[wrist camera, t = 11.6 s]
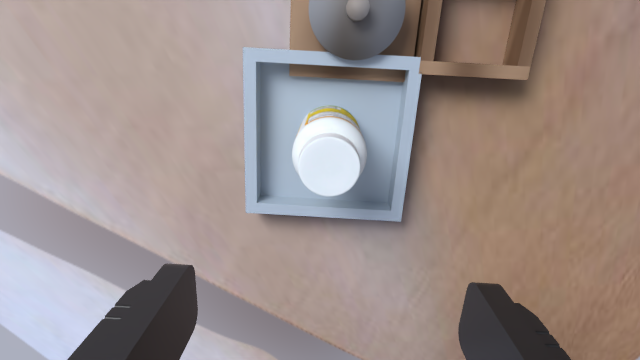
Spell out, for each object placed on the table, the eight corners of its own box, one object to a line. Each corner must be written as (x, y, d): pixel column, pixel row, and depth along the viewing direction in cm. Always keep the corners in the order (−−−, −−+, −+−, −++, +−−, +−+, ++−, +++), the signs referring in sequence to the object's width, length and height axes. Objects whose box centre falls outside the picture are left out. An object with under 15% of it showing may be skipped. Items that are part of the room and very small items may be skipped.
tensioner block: (539, -48, 27) (578, -67, 23) (509, 87, 30) (538, 92, 26) (293, -62, 27) (287, -83, 23) (290, 75, 30) (284, 78, 26)
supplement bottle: (326, 91, 30) (325, 106, 21) (372, 131, 31) (390, 163, 22) (286, 138, 32) (270, 171, 23) (332, 175, 33) (333, 221, 24)
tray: (416, 57, 30) (424, 57, 27) (396, 210, 34) (400, 221, 32) (249, 47, 30) (242, 47, 27) (251, 201, 34) (245, 212, 32)
